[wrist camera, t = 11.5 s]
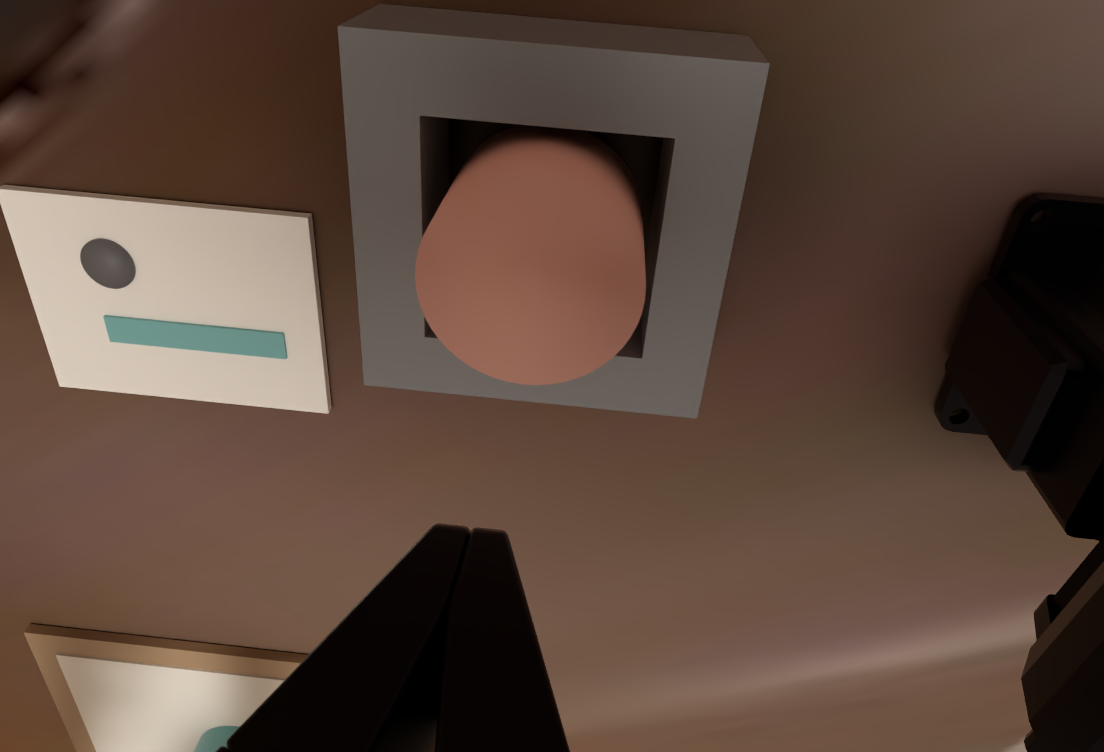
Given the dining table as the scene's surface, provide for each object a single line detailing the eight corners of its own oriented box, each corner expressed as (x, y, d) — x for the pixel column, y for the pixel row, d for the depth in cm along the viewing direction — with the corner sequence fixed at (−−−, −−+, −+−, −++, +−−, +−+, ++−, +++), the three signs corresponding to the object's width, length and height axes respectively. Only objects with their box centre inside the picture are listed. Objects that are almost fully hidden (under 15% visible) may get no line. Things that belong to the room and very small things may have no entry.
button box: (748, 35, 17) (770, 63, 14) (688, 354, 21) (697, 418, 19) (380, 3, 17) (337, 26, 15) (394, 325, 21) (364, 385, 19)
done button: (655, 131, 17) (661, 186, 14) (630, 314, 19) (631, 395, 16) (449, 113, 17) (411, 163, 14) (450, 297, 19) (418, 374, 16)
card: (311, 213, 20) (306, 219, 20) (331, 407, 23) (327, 415, 23) (3, 184, 20) (-7, 190, 20) (65, 380, 23) (57, 387, 23)
